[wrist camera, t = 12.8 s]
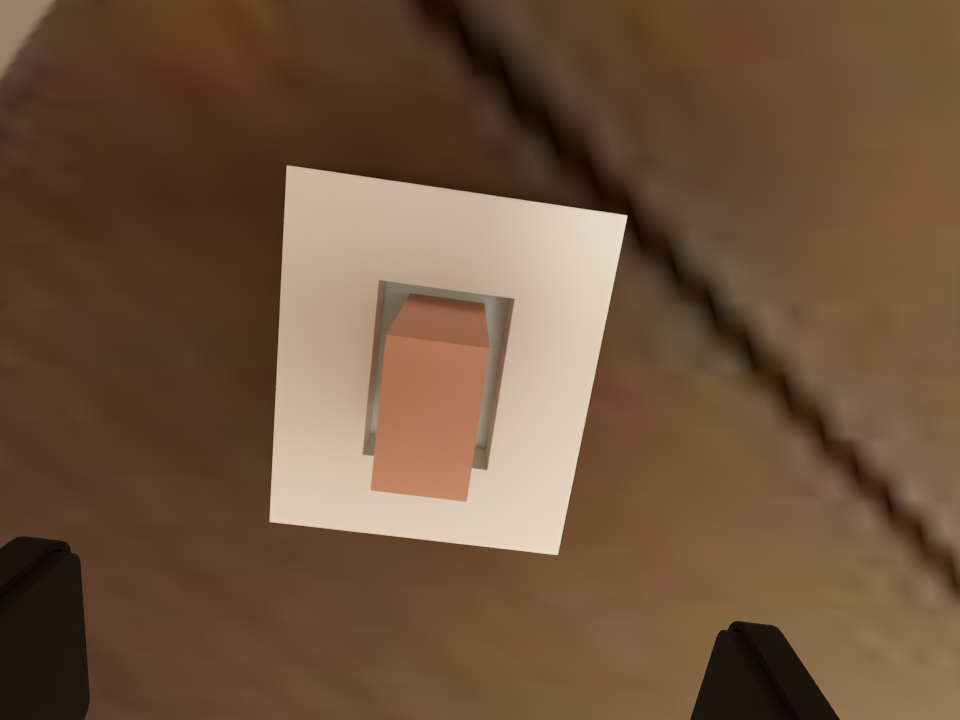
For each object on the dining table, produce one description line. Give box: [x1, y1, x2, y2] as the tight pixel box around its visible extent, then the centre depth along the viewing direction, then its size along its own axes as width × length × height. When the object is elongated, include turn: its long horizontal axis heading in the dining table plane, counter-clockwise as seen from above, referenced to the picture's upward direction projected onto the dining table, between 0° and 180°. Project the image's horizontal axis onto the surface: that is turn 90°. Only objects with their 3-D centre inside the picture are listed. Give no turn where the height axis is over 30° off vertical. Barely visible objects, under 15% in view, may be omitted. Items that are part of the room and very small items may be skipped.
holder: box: [270, 165, 627, 555], centre depth 24 cm, size 14×12×3 cm
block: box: [371, 293, 490, 502], centre depth 21 cm, size 5×3×7 cm, turn 172°
